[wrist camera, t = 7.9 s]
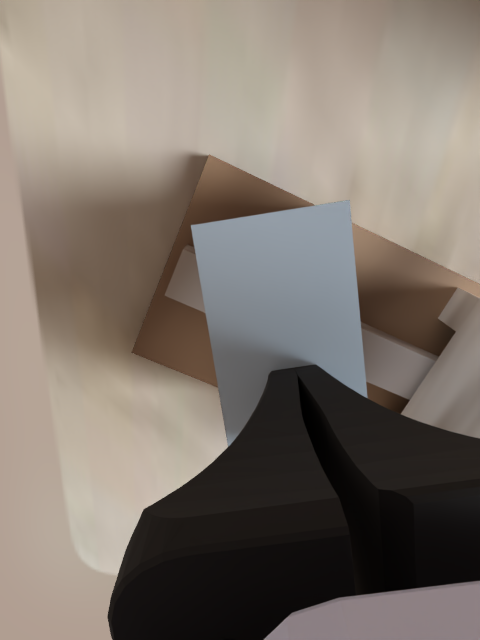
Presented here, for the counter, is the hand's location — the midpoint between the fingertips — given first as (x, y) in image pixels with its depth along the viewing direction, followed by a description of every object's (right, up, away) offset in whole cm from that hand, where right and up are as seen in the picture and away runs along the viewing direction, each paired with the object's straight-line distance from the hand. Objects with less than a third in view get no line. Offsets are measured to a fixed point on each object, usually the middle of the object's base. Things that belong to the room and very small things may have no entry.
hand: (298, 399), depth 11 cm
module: (0, +2, +5) cm, 6 cm away
